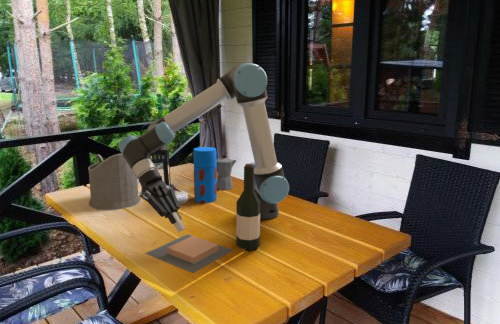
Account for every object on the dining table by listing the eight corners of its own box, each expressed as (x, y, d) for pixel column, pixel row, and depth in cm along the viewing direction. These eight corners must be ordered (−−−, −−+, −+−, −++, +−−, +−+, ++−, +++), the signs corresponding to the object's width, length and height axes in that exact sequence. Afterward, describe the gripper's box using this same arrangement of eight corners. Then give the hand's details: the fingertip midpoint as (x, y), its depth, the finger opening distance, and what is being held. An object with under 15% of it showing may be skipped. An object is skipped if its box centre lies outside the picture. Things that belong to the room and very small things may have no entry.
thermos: (212, 204, 183) (212, 151, 178) (191, 202, 185) (190, 150, 180) (219, 197, 194) (219, 147, 188) (198, 195, 196) (197, 146, 190)
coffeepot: (234, 184, 216) (234, 152, 212) (238, 189, 207) (238, 156, 203) (206, 186, 212) (206, 153, 209) (209, 191, 204) (208, 157, 200)
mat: (145, 255, 131) (145, 253, 131) (187, 236, 147) (187, 234, 147) (193, 275, 119) (193, 273, 118) (233, 252, 135) (233, 249, 134)
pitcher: (100, 214, 169) (96, 157, 163) (74, 196, 192) (70, 146, 186) (149, 202, 184) (147, 150, 179) (120, 188, 207) (117, 141, 201)
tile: (167, 247, 130) (193, 257, 123) (192, 235, 139) (218, 244, 133) (167, 254, 130) (193, 264, 124) (192, 242, 140) (218, 251, 133)
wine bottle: (246, 239, 145) (247, 160, 138) (264, 245, 140) (266, 164, 133) (231, 246, 139) (231, 164, 132) (249, 253, 133) (250, 168, 127)
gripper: (157, 176, 146) (190, 229, 140) (127, 184, 135) (162, 241, 129) (166, 165, 141) (201, 218, 135) (136, 172, 131) (173, 230, 125)
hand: (182, 230), depth 132 cm, fingers closed
